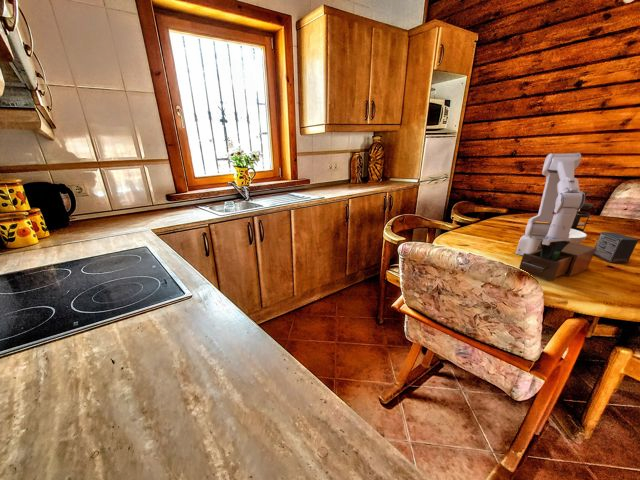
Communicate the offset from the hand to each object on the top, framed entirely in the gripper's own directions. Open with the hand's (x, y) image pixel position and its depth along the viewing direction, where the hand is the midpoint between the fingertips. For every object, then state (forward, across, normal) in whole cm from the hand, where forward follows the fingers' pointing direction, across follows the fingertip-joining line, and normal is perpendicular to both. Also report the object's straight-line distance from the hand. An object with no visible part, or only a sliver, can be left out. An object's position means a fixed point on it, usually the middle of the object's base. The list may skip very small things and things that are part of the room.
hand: (549, 258), depth 109 cm
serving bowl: (+7, +40, +15) cm, 44 cm away
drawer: (+6, -2, 0) cm, 6 cm away
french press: (+7, +64, +18) cm, 66 cm away
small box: (+7, +38, -6) cm, 40 cm away
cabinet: (+6, +12, 0) cm, 13 cm away
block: (+1, 0, 0) cm, 1 cm away
